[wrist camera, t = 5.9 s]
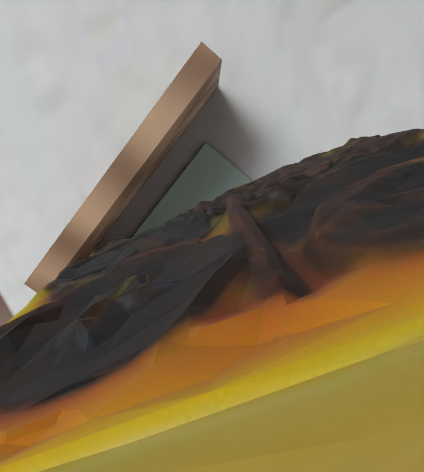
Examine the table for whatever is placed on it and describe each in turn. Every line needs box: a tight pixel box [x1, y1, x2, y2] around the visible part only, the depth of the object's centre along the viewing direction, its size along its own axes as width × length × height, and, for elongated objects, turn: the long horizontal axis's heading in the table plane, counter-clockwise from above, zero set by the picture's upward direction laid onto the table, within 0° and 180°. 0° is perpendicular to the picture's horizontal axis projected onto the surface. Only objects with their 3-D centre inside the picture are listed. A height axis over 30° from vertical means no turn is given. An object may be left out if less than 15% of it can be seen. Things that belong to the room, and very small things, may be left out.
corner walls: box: [24, 42, 222, 293], centre depth 27 cm, size 19×16×8 cm
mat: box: [133, 143, 252, 237], centre depth 30 cm, size 11×11×1 cm
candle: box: [0, 129, 424, 472], centre depth 8 cm, size 10×10×10 cm
